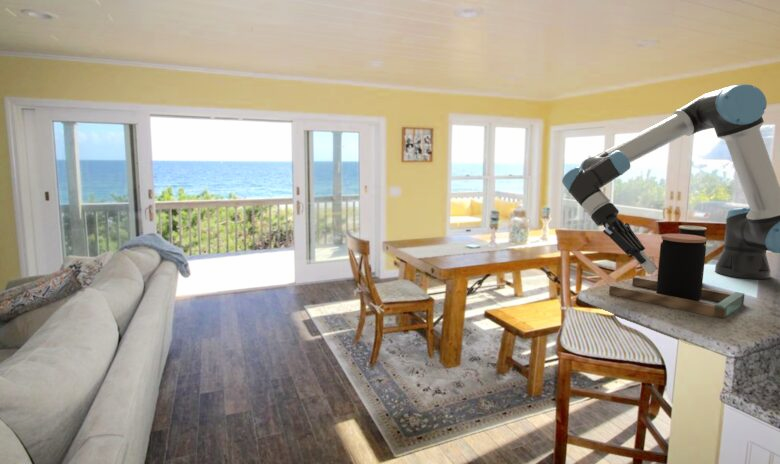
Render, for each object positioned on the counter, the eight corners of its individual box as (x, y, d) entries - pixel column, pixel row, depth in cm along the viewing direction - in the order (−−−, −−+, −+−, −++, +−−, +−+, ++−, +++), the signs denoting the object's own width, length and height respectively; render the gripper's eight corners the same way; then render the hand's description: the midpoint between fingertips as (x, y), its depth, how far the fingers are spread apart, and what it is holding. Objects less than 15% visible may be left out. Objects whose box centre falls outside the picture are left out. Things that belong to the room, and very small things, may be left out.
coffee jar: (709, 305, 121) (716, 239, 119) (667, 304, 122) (673, 239, 119) (686, 294, 132) (692, 233, 129) (648, 293, 133) (653, 233, 130)
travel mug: (680, 277, 151) (685, 224, 149) (706, 283, 145) (712, 227, 142) (667, 280, 147) (672, 226, 145) (694, 286, 141) (700, 229, 138)
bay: (609, 294, 132) (609, 284, 132) (634, 283, 144) (635, 274, 143) (723, 318, 111) (724, 306, 110) (743, 304, 122) (744, 293, 122)
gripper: (601, 215, 147) (651, 275, 137) (581, 218, 139) (633, 282, 129) (619, 200, 142) (672, 261, 132) (599, 202, 134) (655, 267, 124)
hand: (653, 271), depth 130 cm, fingers closed
